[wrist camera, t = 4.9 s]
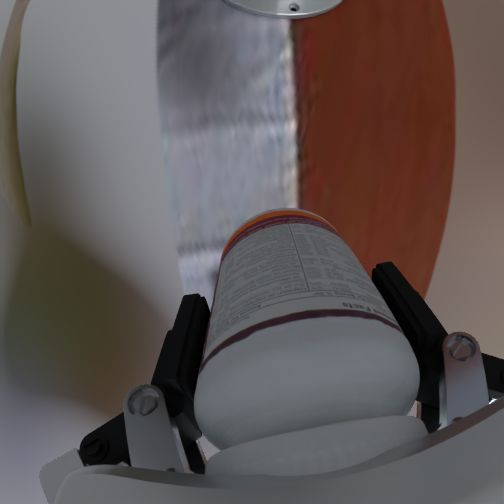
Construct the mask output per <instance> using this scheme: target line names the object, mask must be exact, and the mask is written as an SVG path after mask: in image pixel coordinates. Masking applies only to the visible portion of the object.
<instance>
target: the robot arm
mask: <svg viewBox="0 0 504 504" xmlns="http://www.w3.org/2000/svg"><path fill="white" fill-rule="evenodd" d="M223 1H225V2H226V3H227V4H229V5H231V6H233V7H235V8H237V9H239V10H242V11H245V12H248V13H251V14H254V15H259V16H264V17H269V18H280V19H299V18H306V17H312V16H316V15H319V14H323V13H325V12H327V11H329V10H331V9H333V8H335V7H336V6H337V5H338V4H340V3H341V2H342V1H343V0H223ZM291 10H295V11H296V12H295V11H291ZM372 282H373V284H374V285H375V287H376V288H377V290H378V291H379V293H380V294H381V296H382V298H383V299H384V301H385V302H386V304H387V306H388V307H389V309H390V311H391V313H392V314H393V316H394V318H395V319H396V321H397V323H398V325H399V326H400V328H401V330H402V331H403V333H404V335H405V336H406V338H407V339H408V341H409V343H410V346H411V347H412V350H413V352H414V354H415V357H416V359H417V362H418V366H419V372H420V383H419V390H418V394H417V397H416V401H417V417H416V418H419V419H421V420H422V422H424V424H425V427H426V429H427V432H428V434H429V435H427V436H424V437H422V438H419V439H417V440H414V441H412V442H409V443H407V444H404V445H401V446H398V447H395V448H393V449H390V450H387V451H386V452H384V453H382V454H380V455H378V456H376V457H374V458H372V459H369V460H367V461H365V462H362V463H359V464H357V465H354V466H351V467H347V468H344V469H340V470H336V471H331V472H326V473H321V474H312V475H301V476H276V475H265V474H254V475H206V474H205V466H206V462H207V460H206V457H205V455H204V452H203V450H202V447H201V444H200V442H199V438H200V437H201V436H202V432H201V430H200V428H199V426H198V424H197V421H196V418H195V413H194V396H195V391H196V385H197V380H198V374H199V369H200V363H201V359H202V355H203V350H204V343H205V339H206V333H207V328H208V323H209V317H210V310H209V307H208V304H207V301H206V299H205V297H201V296H200V295H199V294H198V293H197V294H190V295H184V296H183V299H182V302H181V305H180V308H179V311H178V314H177V317H176V320H175V323H174V326H173V329H172V330H169V331H168V332H167V335H166V337H165V340H164V343H163V347H162V350H161V353H160V356H159V359H158V362H157V365H156V368H155V372H154V375H153V378H152V381H151V385H150V384H144V385H140V386H138V387H135V388H134V389H132V390H131V391H130V392H129V393H128V395H127V396H126V397H125V400H124V406H123V409H124V412H123V413H121V414H119V415H118V416H116V417H115V418H113V419H112V420H110V421H109V422H107V423H105V424H104V425H102V426H101V427H99V428H97V429H96V430H94V431H93V432H91V433H89V434H88V435H87V436H85V437H84V439H83V440H82V442H81V444H80V449H79V450H78V449H77V448H74V449H73V450H71V451H69V452H67V453H66V454H64V455H62V456H61V457H58V458H57V459H55V460H53V461H51V462H49V463H48V464H46V465H45V466H43V467H42V469H41V471H40V482H41V485H42V488H43V490H44V493H45V495H46V498H47V501H48V503H49V504H504V359H500V358H497V357H494V356H490V355H487V354H484V353H481V351H480V347H479V344H478V342H477V341H476V339H475V338H474V337H473V336H471V335H470V334H468V333H465V332H453V333H451V334H449V335H448V333H447V332H446V331H445V329H444V328H443V326H442V325H441V323H440V322H439V320H438V319H437V318H436V316H435V315H434V314H433V312H432V311H431V309H430V308H429V307H428V305H427V304H426V303H425V301H424V300H423V299H422V297H421V296H420V295H419V293H418V292H417V291H415V290H414V289H413V288H412V286H411V285H410V284H409V283H408V281H407V280H406V279H405V277H404V276H403V275H402V274H401V273H400V271H399V270H398V269H397V268H396V266H395V265H394V264H393V263H392V262H385V263H380V264H377V265H376V268H374V269H373V270H372Z"/></svg>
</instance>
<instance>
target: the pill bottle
mask: <svg viewBox="0 0 504 504" xmlns="http://www.w3.org/2000/svg"><path fill="white" fill-rule="evenodd" d="M419 383H420V372H419V366H418V362H417V359H416V357H415V354H414V352H413V350H412V347H411V346H410V343H409V341H408V339H407V338H406V336H405V335H404V333H403V331H402V330H401V328H400V326H399V325H398V323H397V321H396V319H395V318H394V316H393V314H392V313H391V311H390V309H389V307H388V306H387V304H386V302H385V301H384V299H383V298H382V296H381V294H380V293H379V291H378V290H377V288H376V287H375V285H374V284H373V282H372V280H371V279H370V277H369V276H368V274H367V273H366V271H365V270H364V268H363V267H362V265H361V264H360V262H359V261H358V259H357V258H356V256H355V255H354V253H353V252H352V250H351V249H350V248H349V246H348V245H347V243H346V242H345V240H344V239H343V238H342V236H341V235H340V234H339V233H338V231H337V230H336V229H335V228H334V227H333V226H332V225H331V224H330V223H329V222H327V221H326V220H325V219H323V218H322V217H320V216H318V215H316V214H314V213H311V212H308V211H305V210H301V209H295V208H282V209H273V210H269V211H266V212H263V213H261V214H258V215H256V216H254V217H252V218H250V219H249V220H247V221H246V222H244V223H243V224H242V225H241V226H240V227H239V228H238V229H237V230H236V231H235V232H234V233H233V234H232V236H231V237H230V238H229V240H228V242H227V243H226V246H225V248H224V250H223V253H222V257H221V261H220V266H219V270H218V275H217V281H216V285H215V291H214V297H213V302H212V307H211V313H210V317H209V323H208V328H207V333H206V339H205V343H204V350H203V355H202V359H201V363H200V369H199V374H198V380H197V385H196V391H195V396H194V413H195V418H196V421H197V424H198V426H199V428H200V430H201V432H202V433H203V435H204V436H205V437H206V439H207V440H208V441H209V442H210V443H211V444H212V445H214V447H216V448H217V449H219V450H220V452H218V453H216V454H214V455H213V456H212V457H210V459H209V460H208V461H207V462H206V466H205V474H206V475H254V474H265V475H276V476H301V475H312V474H321V473H326V472H331V471H336V470H340V469H344V468H347V467H351V466H354V465H357V464H359V463H362V462H365V461H367V460H369V459H372V458H374V457H376V456H378V455H380V454H382V453H384V452H386V451H387V450H390V449H393V448H395V447H398V446H401V445H404V444H407V443H409V442H412V441H414V440H417V439H419V438H422V437H424V436H427V435H429V434H428V432H427V429H426V427H425V424H424V422H422V420H421V419H419V418H416V417H414V416H407V415H408V413H409V412H410V410H411V408H412V406H413V404H414V402H415V400H416V397H417V394H418V390H419Z"/></svg>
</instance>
